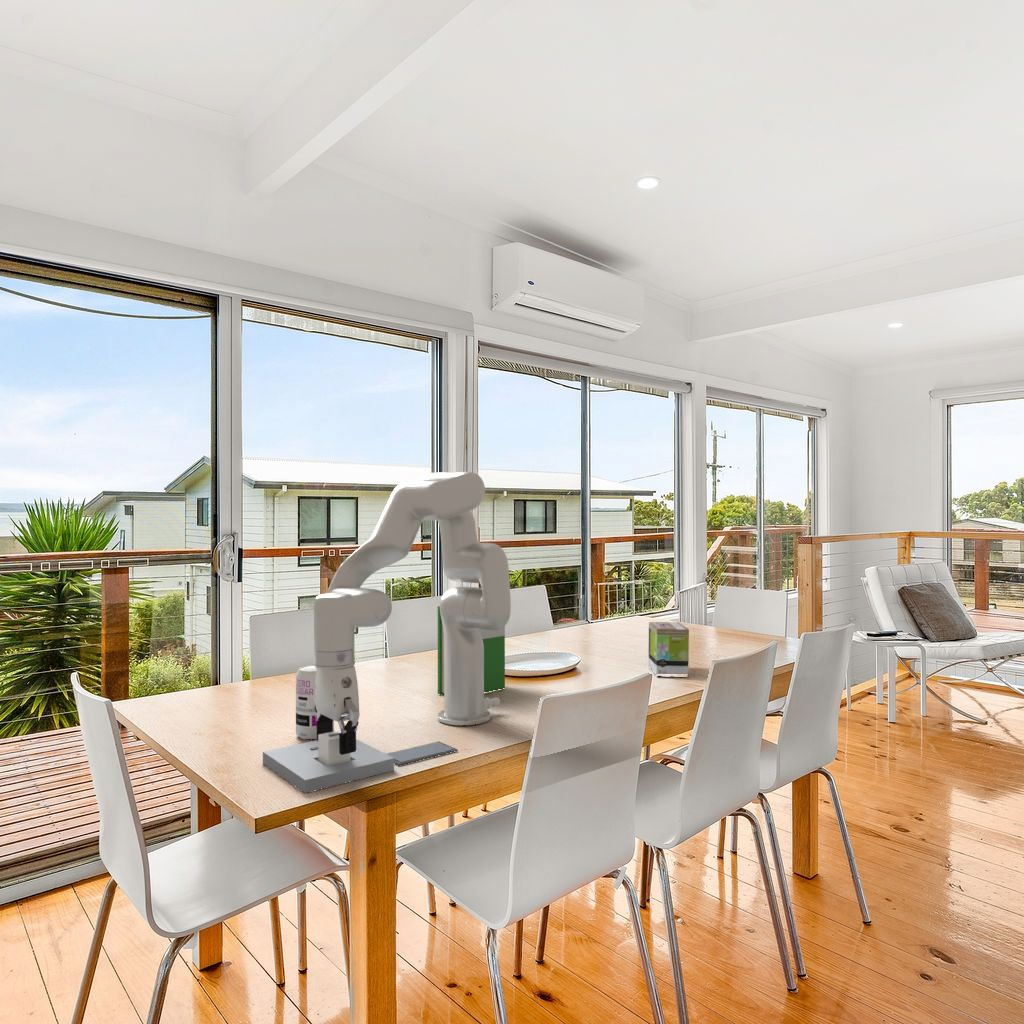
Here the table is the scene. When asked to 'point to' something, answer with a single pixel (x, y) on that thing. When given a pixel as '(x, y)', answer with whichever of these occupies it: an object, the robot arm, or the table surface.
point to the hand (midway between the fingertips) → (336, 746)
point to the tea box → (668, 648)
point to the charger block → (330, 749)
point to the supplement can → (306, 703)
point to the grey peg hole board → (312, 775)
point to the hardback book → (492, 657)
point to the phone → (420, 753)
